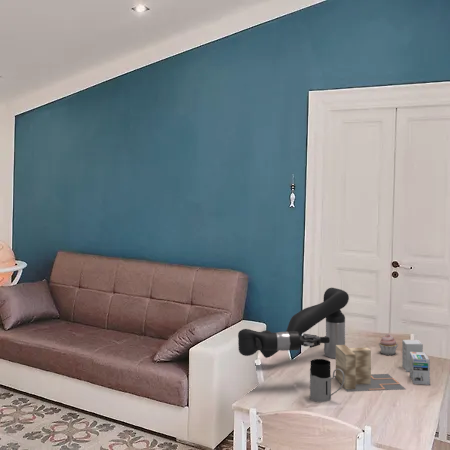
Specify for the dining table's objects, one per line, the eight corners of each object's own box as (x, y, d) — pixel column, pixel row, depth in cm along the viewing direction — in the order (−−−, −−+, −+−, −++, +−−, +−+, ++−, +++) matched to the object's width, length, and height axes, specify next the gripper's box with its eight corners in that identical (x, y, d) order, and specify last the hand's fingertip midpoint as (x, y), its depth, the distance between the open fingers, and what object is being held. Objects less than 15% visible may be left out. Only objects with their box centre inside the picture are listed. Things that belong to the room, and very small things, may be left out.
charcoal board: (346, 394, 209) (346, 391, 209) (333, 378, 228) (333, 375, 228) (406, 391, 211) (406, 388, 211) (388, 376, 230) (388, 373, 230)
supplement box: (418, 366, 242) (418, 339, 241) (423, 372, 234) (423, 343, 234) (401, 366, 242) (402, 339, 242) (405, 371, 235) (405, 343, 234)
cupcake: (376, 355, 261) (376, 334, 260) (380, 350, 269) (380, 330, 269) (396, 357, 257) (396, 336, 256) (399, 352, 265) (399, 332, 264)
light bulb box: (430, 385, 218) (430, 359, 217) (412, 384, 219) (413, 358, 219) (425, 376, 228) (425, 351, 228) (409, 375, 230) (409, 351, 229)
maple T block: (345, 389, 211) (345, 354, 211) (335, 377, 225) (335, 345, 225) (375, 388, 212) (375, 353, 212) (363, 376, 226) (363, 344, 226)
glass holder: (316, 394, 209) (316, 357, 208) (349, 403, 200) (349, 363, 199) (304, 401, 202) (304, 362, 201) (338, 410, 193) (338, 369, 192)
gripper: (284, 345, 223) (324, 344, 224) (290, 354, 209) (333, 353, 211) (284, 328, 222) (324, 326, 223) (290, 336, 209) (333, 334, 210)
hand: (329, 339), depth 217 cm, fingers closed
